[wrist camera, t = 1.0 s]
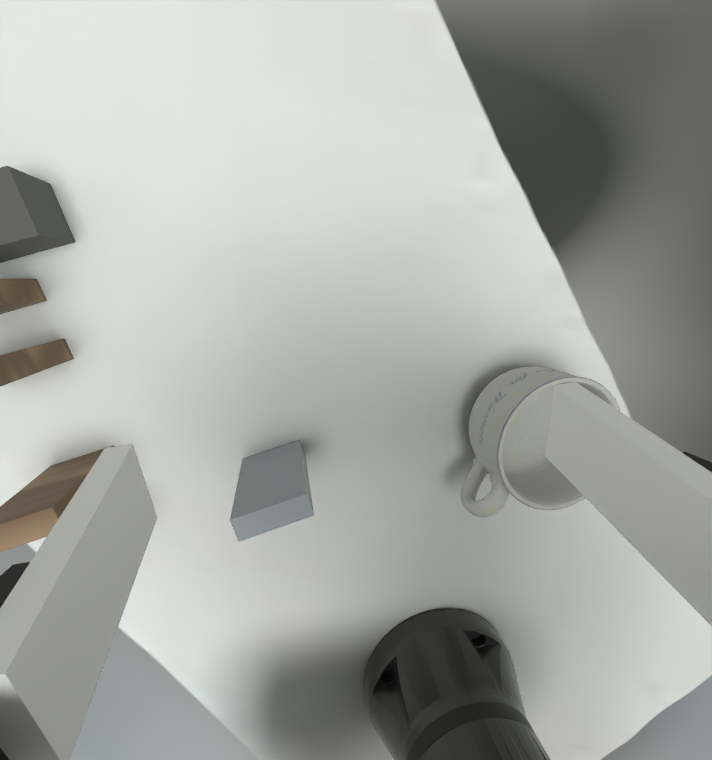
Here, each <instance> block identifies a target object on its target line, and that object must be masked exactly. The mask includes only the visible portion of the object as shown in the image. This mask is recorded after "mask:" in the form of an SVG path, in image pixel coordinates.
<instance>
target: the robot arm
mask: <svg viewBox="0 0 712 760" xmlns="http://www.w3.org/2000/svg"><path fill="white" fill-rule="evenodd" d="M545 457H546V458H547V459H548V460H549V461H550V462H551V463H552V464H553V465H554V466H555V467H556V468H557V469H558V470H559V471H560V472H561V473H562V474H563V475H564V476H565V477H566V478H567V479H568V480H569V481H570V482H571V483H572V484H573V485H574V486H575V487H576V488H577V489H578V490H579V491H580V492H581V493H582V494H583V495H584V496H585V497H586V498H587V499H588V500H589V501H590V503H591V504H592V505H593V506H594V507H595V508H596V509H597V510H598V511H599V512H600V513H601V514H602V515H603V516H604V517H605V518H606V519H607V520H608V521H609V522H610V523H611V524H612V525H613V526H614V527H615V528H616V529H617V530H618V531H619V532H620V533H621V534H622V535H623V536H624V537H625V538H626V539H627V540H628V541H629V542H630V543H631V544H632V545H633V546H634V547H635V548H636V549H637V550H638V551H639V552H640V554H641V555H642V556H643V557H644V558H645V559H646V560H647V561H648V562H649V563H650V564H651V565H652V566H653V567H654V568H655V569H656V570H657V571H658V572H659V573H660V574H661V575H662V576H663V577H664V578H665V579H666V580H667V581H668V582H669V583H670V584H671V585H672V586H673V587H674V588H675V589H676V590H677V591H678V592H679V593H680V594H681V595H682V596H683V597H684V598H685V599H686V600H687V601H688V602H689V604H690V605H691V606H692V607H693V608H694V609H695V610H696V611H697V612H698V613H699V614H700V615H701V616H702V617H703V618H704V619H705V620H706V621H707V622H708V623H709V624H710V625H711V626H712V463H711V462H709V461H707V460H704V459H702V458H699V457H697V456H694V455H692V454H689V453H687V452H683V453H681V452H680V451H679V450H677V449H676V448H674V447H673V446H671V445H670V444H668V443H666V442H665V441H664V440H662V439H660V438H659V437H657V436H656V435H655V434H653V433H651V432H650V431H649V430H647V429H646V428H644V427H643V426H641V425H640V424H638V423H637V422H635V421H634V420H632V419H631V418H629V417H628V416H626V415H625V414H623V413H622V412H620V411H619V410H617V409H616V408H614V407H613V406H611V405H610V404H608V403H607V402H605V401H604V400H602V399H601V398H599V397H598V396H596V395H595V394H593V393H592V392H590V391H589V390H587V389H586V388H584V387H583V386H581V385H580V384H578V383H577V382H573V383H566V384H558V385H554V389H553V397H552V405H551V412H550V420H549V427H548V435H547V443H546V450H545ZM156 520H157V516H156V513H155V510H154V507H153V504H152V501H151V498H150V495H149V492H148V489H147V486H146V483H145V480H144V477H143V474H142V471H141V468H140V465H139V462H138V459H137V456H136V453H135V450H134V447H133V444H130V445H123V446H116V447H108V448H105V449H104V450H103V452H102V453H101V455H100V456H99V458H98V459H97V461H96V462H95V464H94V465H93V467H92V469H91V470H90V472H89V473H88V475H87V476H86V478H85V479H84V481H83V482H82V484H81V485H80V487H79V488H78V490H77V492H76V493H75V495H74V496H73V498H72V499H71V501H70V502H69V504H68V505H67V507H66V508H65V510H64V511H63V513H62V514H61V516H60V518H59V519H58V521H57V522H56V524H55V525H54V527H53V528H52V530H51V531H50V533H49V534H48V536H47V537H46V539H45V541H44V542H43V544H42V545H41V547H40V548H39V550H38V551H37V553H36V554H35V556H34V557H33V559H32V561H31V562H27V563H21V564H15V565H12V566H11V567H10V568H9V569H8V570H6V571H5V572H4V573H3V574H2V575H1V576H0V760H70V758H71V755H72V752H73V750H74V747H75V744H76V741H77V739H78V736H79V733H80V730H81V728H82V725H83V722H84V719H85V716H86V714H87V710H88V708H89V705H90V703H91V700H92V697H93V694H94V691H95V689H96V686H97V683H98V680H99V678H100V674H101V672H102V669H103V666H104V664H105V661H106V658H107V655H108V653H109V650H110V647H111V644H112V642H113V639H114V636H115V633H116V630H117V628H118V625H119V622H120V619H121V617H122V614H123V611H124V608H125V606H126V603H127V600H128V597H129V594H130V592H131V589H132V586H133V583H134V581H135V578H136V575H137V572H138V569H139V567H140V564H141V561H142V558H143V556H144V553H145V550H146V547H147V545H148V542H149V539H150V536H151V533H152V531H153V528H154V525H155V522H156ZM364 690H365V696H366V700H367V705H368V710H369V714H370V717H371V720H372V722H373V725H374V726H375V728H376V730H377V732H378V733H379V735H380V737H381V738H382V740H383V742H384V743H385V745H386V747H387V748H388V750H389V752H390V753H391V755H392V757H393V758H394V760H550V758H549V757H548V755H547V753H546V752H545V750H544V748H543V746H542V745H541V743H540V741H539V739H538V738H537V736H536V734H535V733H534V731H533V729H532V727H531V726H530V724H529V722H528V720H527V718H526V716H525V712H524V708H523V704H522V700H521V695H520V691H519V687H518V683H517V678H516V674H515V670H514V666H513V662H512V659H511V656H510V654H509V651H508V649H507V648H506V646H505V644H504V643H503V641H502V640H501V638H500V636H499V635H498V633H497V632H496V630H495V629H494V628H493V626H492V625H491V624H490V623H488V622H487V621H486V620H485V619H483V618H482V617H480V616H478V615H476V614H473V613H471V612H468V611H463V610H457V609H441V610H434V611H430V612H426V613H423V614H420V615H417V616H415V617H413V618H411V619H409V620H407V621H405V622H403V623H402V624H400V625H399V626H397V627H396V628H395V629H393V630H392V631H391V632H390V633H389V634H388V635H387V636H386V637H385V638H384V639H383V640H382V641H381V642H380V644H379V645H378V646H377V648H376V649H375V651H374V652H373V654H372V656H371V658H370V660H369V662H368V665H367V668H366V672H365V678H364Z"/></svg>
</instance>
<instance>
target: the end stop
mask: <svg viewBox="0 0 712 760" xmlns="http://www.w3.org/2000/svg"><path fill="white" fill-rule="evenodd" d="M74 242H75V240H74V238H73V236H72V233H71V231H70V229H69V226H68V224H67V222H66V220H65V217H64V215H63V213H62V210H61V208H60V206H59V203H58V201H57V199H56V196H55V194H54V192H53V189H52V187H51V185H50V184H49V183H46V182H44V181H42V180H39V179H37V178H35V177H32V176H30V175H28V174H25V173H23V172H21V171H18V170H16V169H14V168H11V167H9V166H5V167H1V168H0V262H4V261H8V260H11V259H15V258H19V257H22V256H26V255H30V254H33V253H37V252H41V251H44V250H48V249H52V248H55V247H59V246H63V245H66V244H70V243H74Z"/></svg>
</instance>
